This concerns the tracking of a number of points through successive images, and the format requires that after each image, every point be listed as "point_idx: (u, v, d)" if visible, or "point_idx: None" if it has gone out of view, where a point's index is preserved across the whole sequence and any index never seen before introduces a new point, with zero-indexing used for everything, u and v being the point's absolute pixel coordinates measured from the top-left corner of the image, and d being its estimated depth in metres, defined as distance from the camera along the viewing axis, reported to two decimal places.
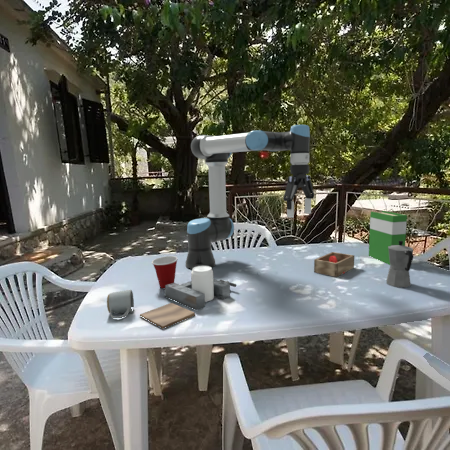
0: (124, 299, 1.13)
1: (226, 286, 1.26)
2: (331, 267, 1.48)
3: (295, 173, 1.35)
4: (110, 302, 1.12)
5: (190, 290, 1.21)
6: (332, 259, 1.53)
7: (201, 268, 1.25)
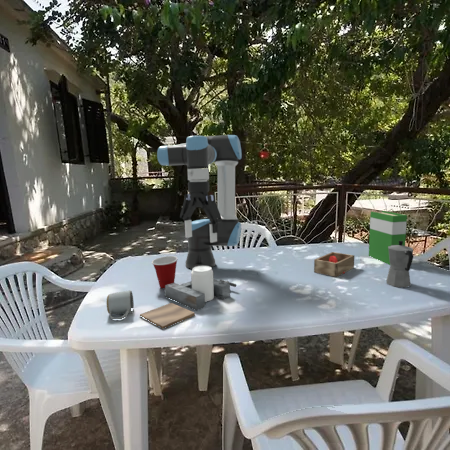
0: (124, 300, 1.12)
1: (226, 286, 1.26)
2: (331, 267, 1.48)
3: None
4: (109, 303, 1.11)
5: (190, 290, 1.21)
6: (332, 259, 1.52)
7: (201, 268, 1.25)
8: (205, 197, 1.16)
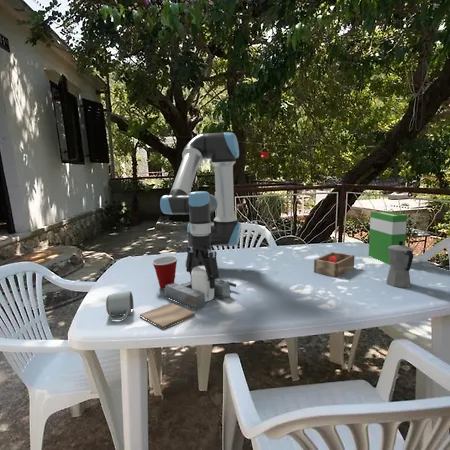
0: (123, 301, 1.11)
1: (226, 286, 1.26)
2: (331, 267, 1.48)
3: None
4: (109, 304, 1.11)
5: (190, 290, 1.21)
6: (332, 259, 1.52)
7: (201, 268, 1.25)
8: (207, 251, 1.19)
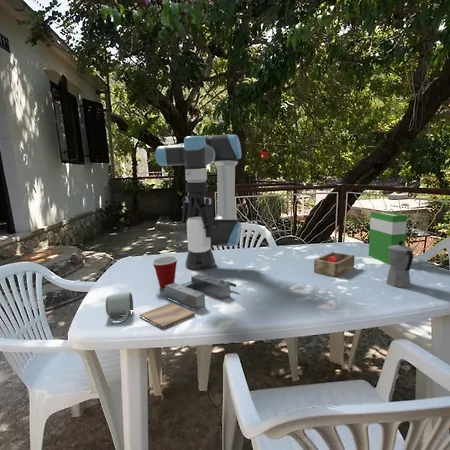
0: (123, 302, 1.10)
1: (226, 286, 1.26)
2: (331, 267, 1.48)
3: None
4: (108, 305, 1.10)
5: (190, 290, 1.21)
6: (331, 259, 1.52)
7: (197, 218, 1.20)
8: (203, 198, 1.15)
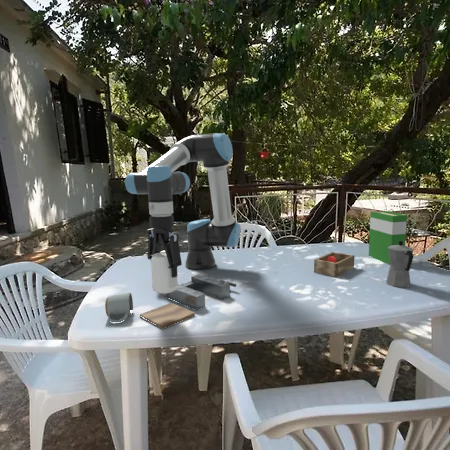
0: (123, 303, 1.10)
1: (226, 286, 1.26)
2: (331, 267, 1.48)
3: None
4: (108, 305, 1.09)
5: (190, 290, 1.21)
6: (331, 259, 1.52)
7: (163, 254, 1.09)
8: (168, 234, 1.04)
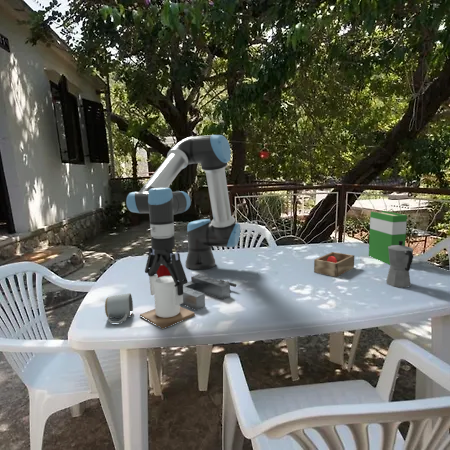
0: (123, 303, 1.09)
1: (226, 286, 1.26)
2: (331, 267, 1.48)
3: None
4: (108, 306, 1.09)
5: (190, 290, 1.21)
6: (331, 259, 1.52)
7: (165, 279, 1.10)
8: (169, 255, 1.05)
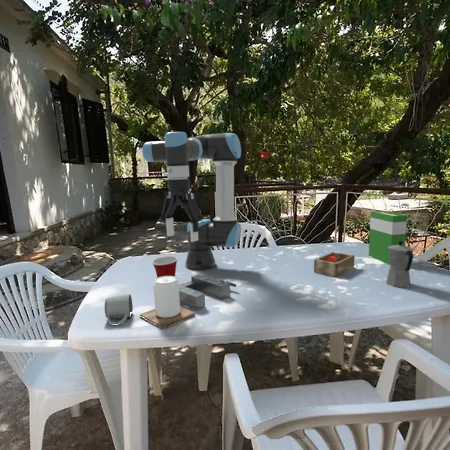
0: (122, 304, 1.09)
1: (226, 286, 1.26)
2: (331, 267, 1.48)
3: None
4: (107, 307, 1.08)
5: (190, 290, 1.21)
6: (332, 259, 1.52)
7: (165, 279, 1.10)
8: (185, 195, 1.13)
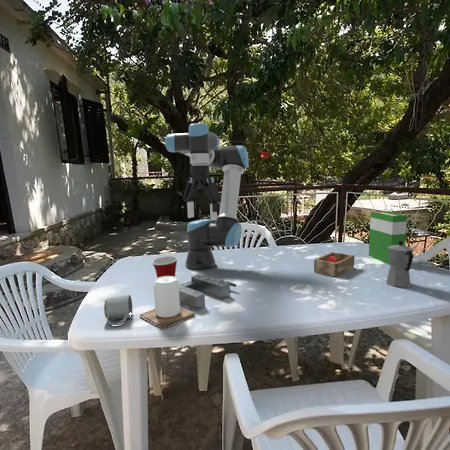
0: (122, 305, 1.08)
1: (226, 286, 1.26)
2: (331, 267, 1.48)
3: None
4: (107, 307, 1.08)
5: (190, 290, 1.21)
6: (331, 259, 1.52)
7: (165, 279, 1.10)
8: (206, 179, 1.28)
